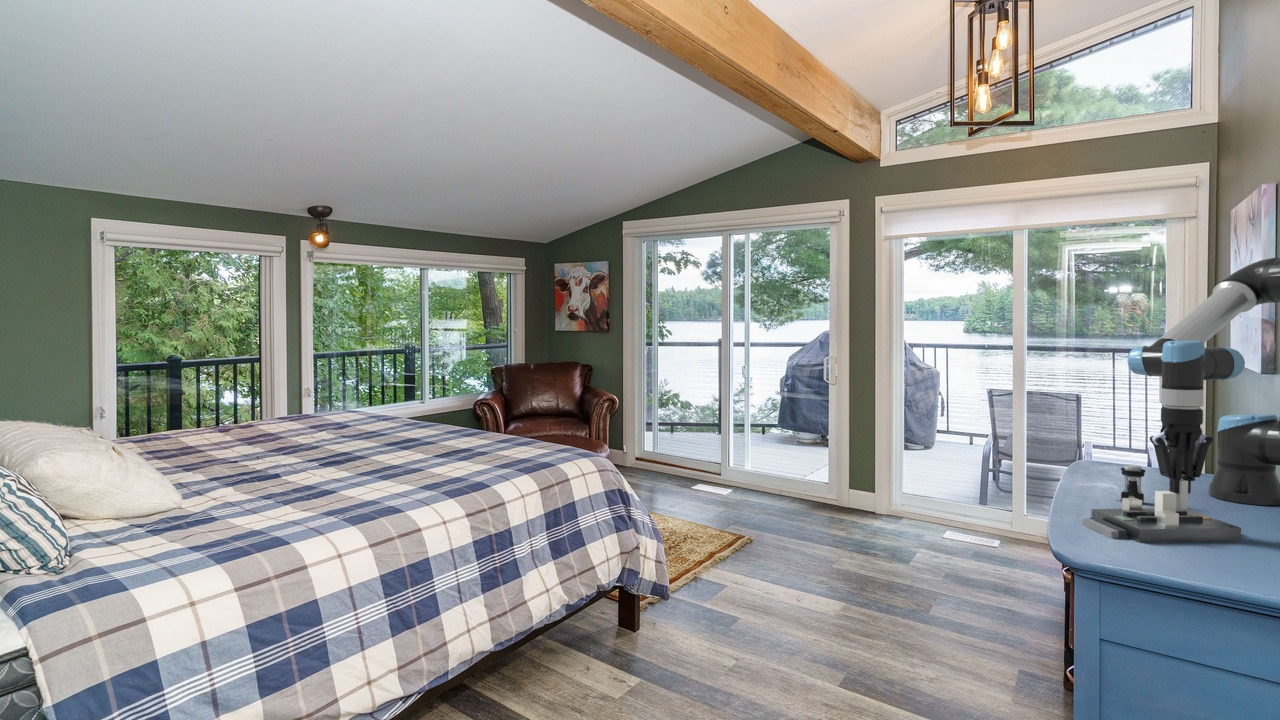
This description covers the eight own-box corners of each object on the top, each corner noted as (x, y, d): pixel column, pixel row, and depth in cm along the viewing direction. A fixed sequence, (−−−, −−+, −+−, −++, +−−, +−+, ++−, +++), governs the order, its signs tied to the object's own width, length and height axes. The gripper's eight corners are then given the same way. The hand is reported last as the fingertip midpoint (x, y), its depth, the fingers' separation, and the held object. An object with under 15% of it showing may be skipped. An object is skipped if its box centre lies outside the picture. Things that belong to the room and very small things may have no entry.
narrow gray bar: (1096, 524, 157) (1096, 517, 157) (1126, 538, 147) (1126, 530, 147) (1082, 524, 157) (1082, 517, 157) (1111, 538, 147) (1111, 530, 147)
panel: (1182, 519, 159) (1182, 495, 159) (1240, 541, 143) (1241, 514, 143) (1091, 520, 160) (1091, 497, 160) (1139, 542, 144) (1139, 516, 144)
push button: (1112, 501, 176) (1113, 465, 175) (1116, 497, 180) (1116, 462, 179) (1143, 506, 171) (1144, 468, 171) (1146, 501, 175) (1146, 465, 174)
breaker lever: (1167, 515, 152) (1168, 490, 152) (1175, 518, 150) (1176, 493, 150) (1154, 516, 153) (1155, 491, 152) (1162, 519, 150) (1162, 493, 150)
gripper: (1196, 404, 153) (1194, 502, 155) (1141, 405, 154) (1139, 503, 155) (1224, 408, 146) (1222, 511, 147) (1165, 409, 146) (1163, 511, 147)
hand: (1179, 506), depth 151 cm, fingers closed
